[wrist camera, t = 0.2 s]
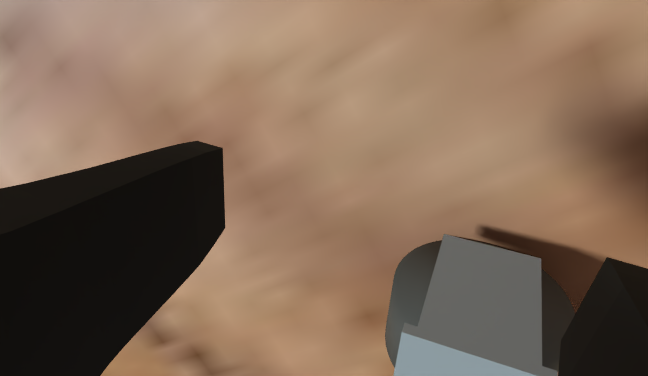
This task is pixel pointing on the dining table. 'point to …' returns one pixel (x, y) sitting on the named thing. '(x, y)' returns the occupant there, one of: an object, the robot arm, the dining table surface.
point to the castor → (474, 312)
